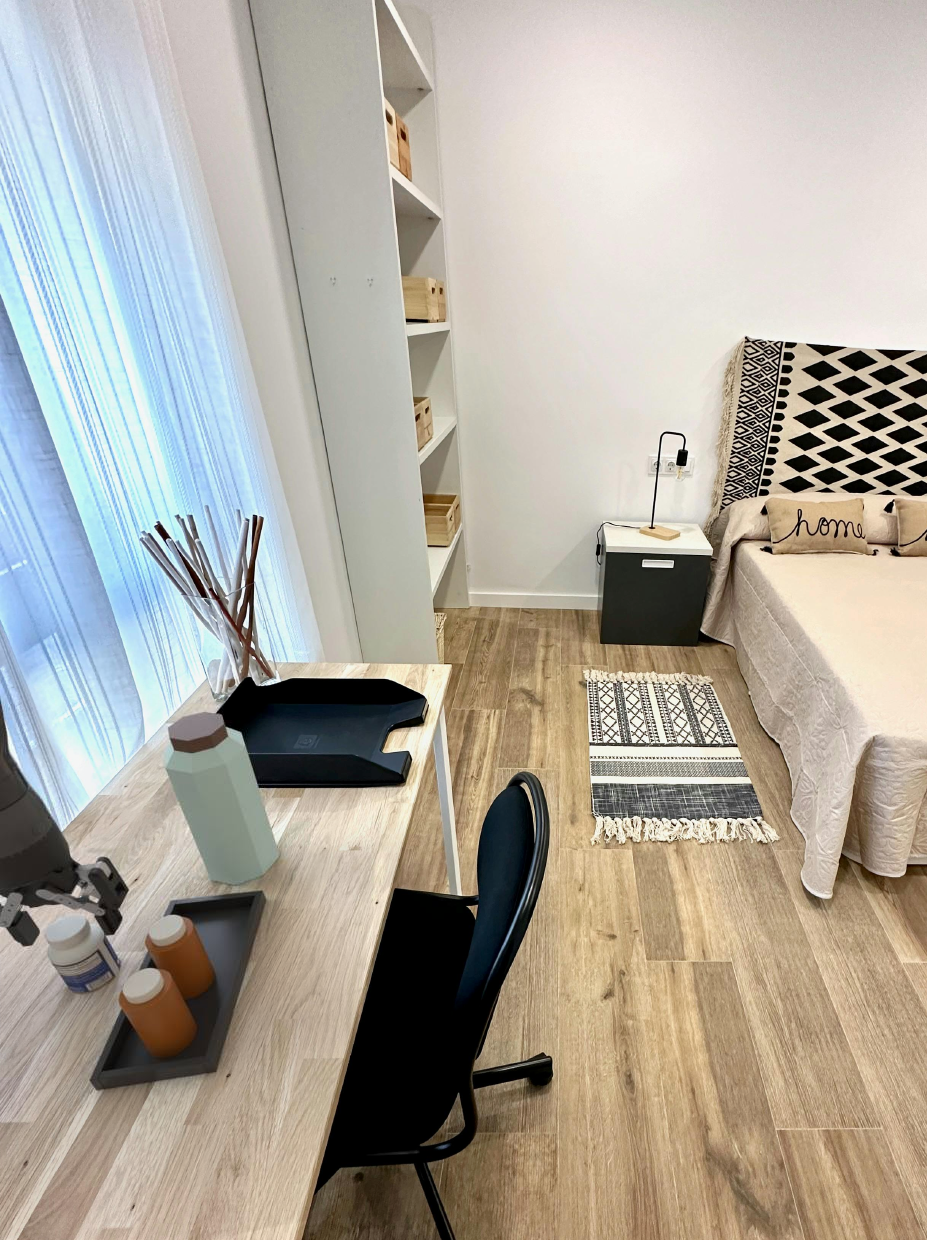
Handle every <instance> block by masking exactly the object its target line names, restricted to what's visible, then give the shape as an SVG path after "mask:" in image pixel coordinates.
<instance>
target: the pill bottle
mask: <svg viewBox="0 0 927 1240" xmlns="http://www.w3.org/2000/svg"><path fill="white" fill-rule="evenodd" d="M44 939H45V940H46V942H47V943H48V945H49V946H48V948H47V950H46V951H47V953H46V954H47V958H48V960H49V961H50V963H51V965H52V966H53V967H54V969H55V970H56V972H57V973H58V975H59V977H60V978H61V979H62V980H63V982H64V983H65V985H66V986H67V988H68V989H69V990H70V991H71V992H72V993H73V994H76V995H87V994H91V993H92V994H93V993H94V992H98V991H99V990H102V989H103V988H105V987H106V986H107V985H109V984H111V982H113V980H115V978H116V977H117V976H118V974H119V973H120V971H121V967H122V961H121V959H120V957H119V956H118V954H117V952H116V951H115V949H114V948H113V946H112V944H111V942H110V941H109V939H108V936H106V935H105V934H104V932H103V930H102V929H101V927H100V925H98V924H94V923H90V921H89V920H88V918H87V917H86V916H85V915H84V914H82V913H70V914H67V915H63V916H62V917H60V918H58V919H56V920H55V921H54V922H52V923H51V924H50V925H49V926H48V927H47V928H46V930H45V933H44Z"/></svg>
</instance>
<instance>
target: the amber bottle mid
mask: <svg viewBox="0 0 927 1240" xmlns="http://www.w3.org/2000/svg"><path fill="white" fill-rule="evenodd" d="M144 943H145V944H144V946H145V947H146V950H147V952H148V951H149V953H150V955H151V957H152V959H153V961H154V963H155V964H156V966H157V968H158V969H162V970H165V971H167V972H169V973H170V975H171V977H172V978H173V980H174V982H175V984H176V986H177V988H178V990H179V992H180V994H181V996H182V998H183V999H184V1000H187V999H192V998H195V997H197V996H199V995H201V994H202V993H204V992H205V991H206V990H207V989H208V988H209V987H210V986H211V984H212V983H213V981H214V978H215V971H214V968H213V966H212V964H211V962H210V960H209V957H208V955H207V953H206V951H205V949H204V947H203V944H202V942H201V940H200V938H199V936H198V933H197V931H196V929H195V927H194V925H193V923H192V921H191V920H190V919H188V918H185V917H180V916H178V915H169V916H165V917H163V916H162V917H161V918H159V919H157V920H156V921H154V923H152V924H151V926H150V927H149V929H148V933H147V935H146V936H145V941H144Z"/></svg>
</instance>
